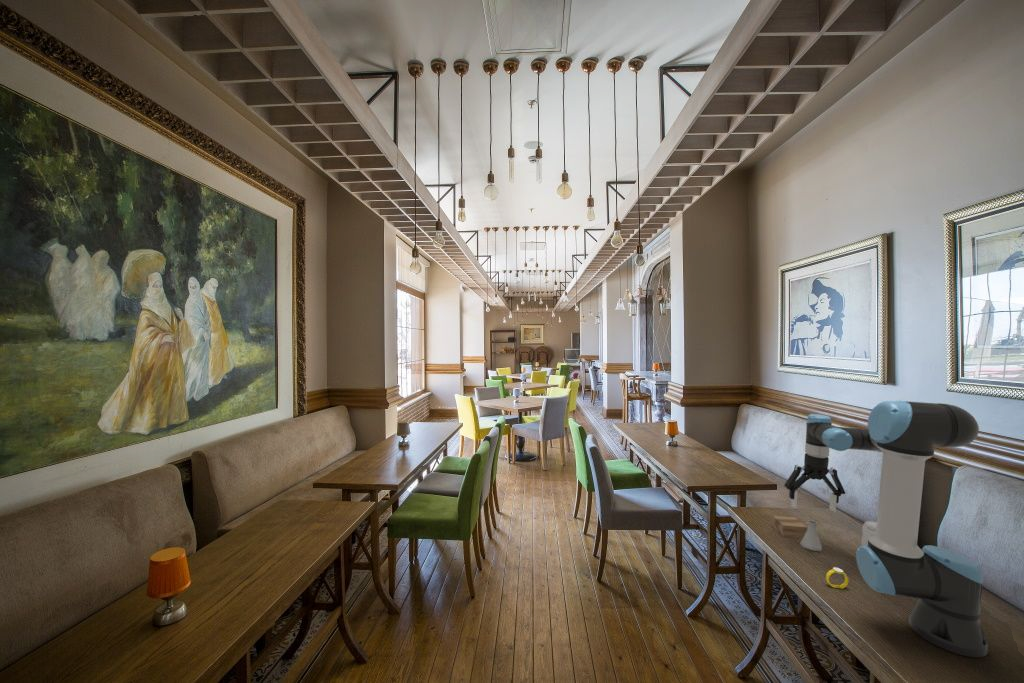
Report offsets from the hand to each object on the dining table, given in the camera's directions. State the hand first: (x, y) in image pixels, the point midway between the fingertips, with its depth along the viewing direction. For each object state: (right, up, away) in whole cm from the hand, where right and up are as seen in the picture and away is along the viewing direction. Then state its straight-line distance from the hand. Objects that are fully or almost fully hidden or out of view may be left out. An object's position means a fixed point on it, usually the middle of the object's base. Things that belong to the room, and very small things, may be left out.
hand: (812, 509), depth 165 cm
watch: (-10, -16, -25) cm, 32 cm away
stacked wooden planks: (-2, -15, +12) cm, 19 cm away
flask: (-1, -15, 0) cm, 15 cm away
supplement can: (+14, -16, -12) cm, 24 cm away
